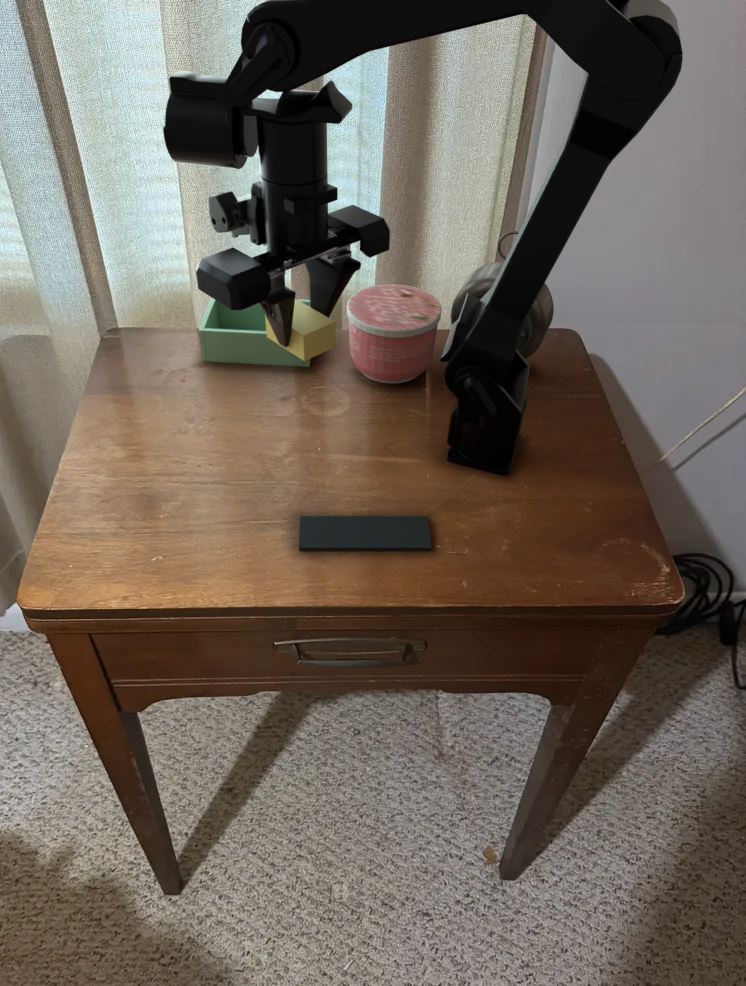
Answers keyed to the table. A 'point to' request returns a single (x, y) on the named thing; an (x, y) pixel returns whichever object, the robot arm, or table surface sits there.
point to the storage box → (241, 337)
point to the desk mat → (364, 533)
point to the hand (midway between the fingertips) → (300, 337)
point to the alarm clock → (535, 319)
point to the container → (392, 331)
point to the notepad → (307, 332)
